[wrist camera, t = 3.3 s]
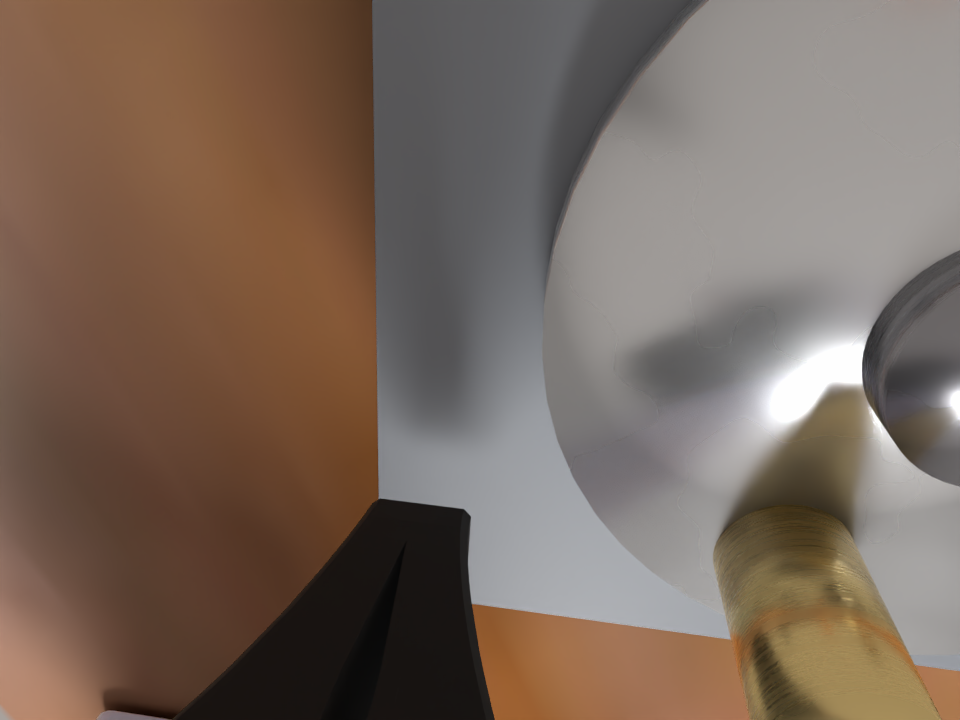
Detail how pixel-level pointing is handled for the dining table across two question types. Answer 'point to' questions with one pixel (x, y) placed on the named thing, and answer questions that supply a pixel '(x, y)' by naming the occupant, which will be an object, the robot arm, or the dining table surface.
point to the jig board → (498, 288)
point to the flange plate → (777, 339)
